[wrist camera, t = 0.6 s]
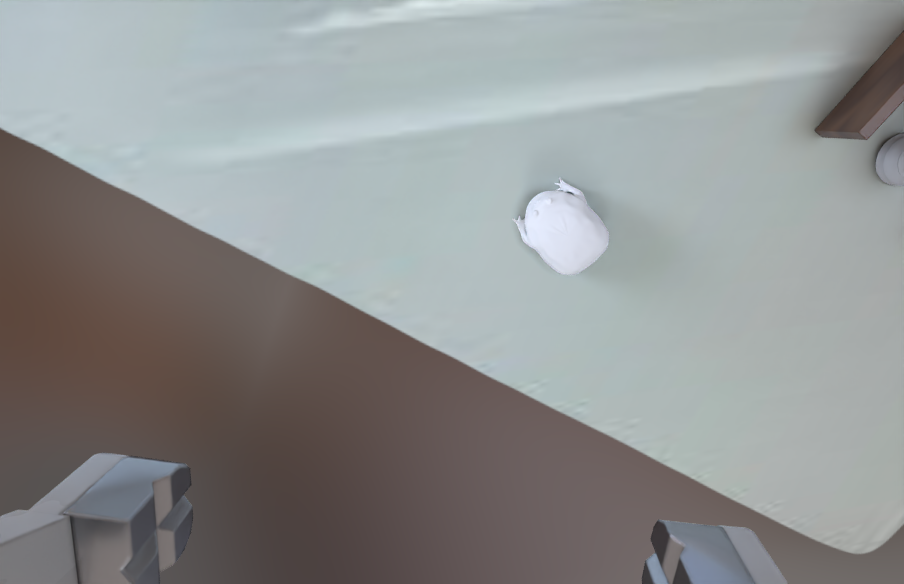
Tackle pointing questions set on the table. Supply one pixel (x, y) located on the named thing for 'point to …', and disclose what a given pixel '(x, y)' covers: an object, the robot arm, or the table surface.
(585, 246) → the white frog figurine
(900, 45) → the wooden enclosure
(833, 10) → the table surface
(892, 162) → the rook chess piece
